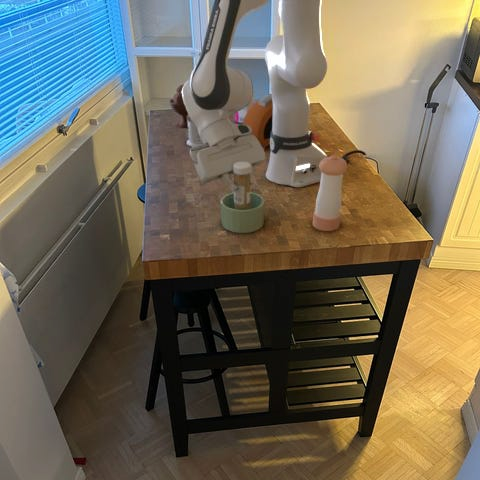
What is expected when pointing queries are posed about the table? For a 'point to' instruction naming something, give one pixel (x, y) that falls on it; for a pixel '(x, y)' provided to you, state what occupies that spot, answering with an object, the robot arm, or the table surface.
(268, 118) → the alarm clock
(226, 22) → the robot arm
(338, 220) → the salt shaker
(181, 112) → the brown teddy bear
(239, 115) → the supplement box
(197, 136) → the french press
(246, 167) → the sprinkles bottle
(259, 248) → the table surface
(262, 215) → the cup
